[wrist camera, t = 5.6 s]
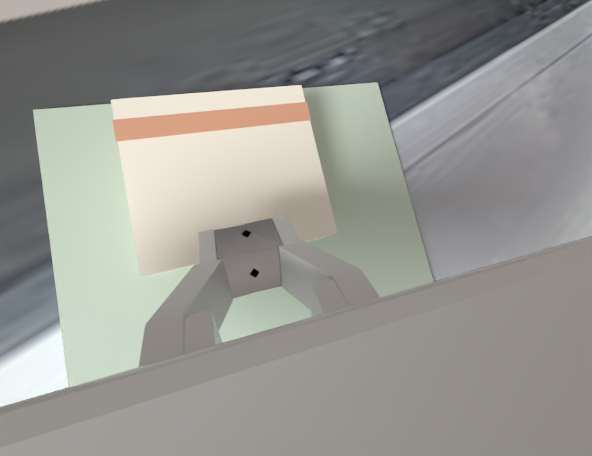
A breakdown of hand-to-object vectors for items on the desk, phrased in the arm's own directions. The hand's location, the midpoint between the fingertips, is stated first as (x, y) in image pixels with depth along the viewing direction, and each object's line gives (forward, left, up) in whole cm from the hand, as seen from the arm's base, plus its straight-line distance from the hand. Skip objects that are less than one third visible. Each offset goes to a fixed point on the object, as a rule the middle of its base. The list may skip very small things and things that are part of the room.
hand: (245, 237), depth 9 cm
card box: (0, 0, -4) cm, 4 cm away
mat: (+1, +1, -6) cm, 6 cm away
